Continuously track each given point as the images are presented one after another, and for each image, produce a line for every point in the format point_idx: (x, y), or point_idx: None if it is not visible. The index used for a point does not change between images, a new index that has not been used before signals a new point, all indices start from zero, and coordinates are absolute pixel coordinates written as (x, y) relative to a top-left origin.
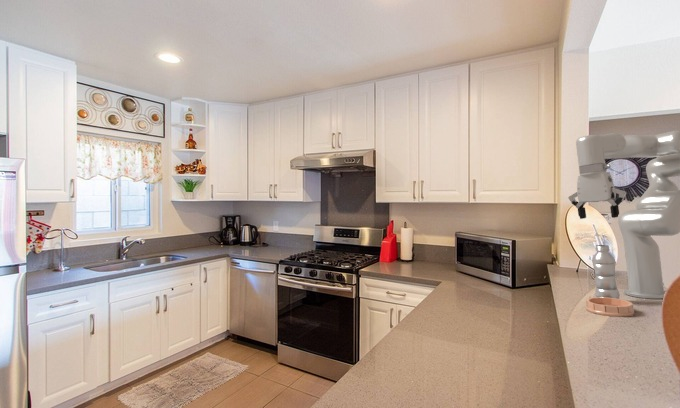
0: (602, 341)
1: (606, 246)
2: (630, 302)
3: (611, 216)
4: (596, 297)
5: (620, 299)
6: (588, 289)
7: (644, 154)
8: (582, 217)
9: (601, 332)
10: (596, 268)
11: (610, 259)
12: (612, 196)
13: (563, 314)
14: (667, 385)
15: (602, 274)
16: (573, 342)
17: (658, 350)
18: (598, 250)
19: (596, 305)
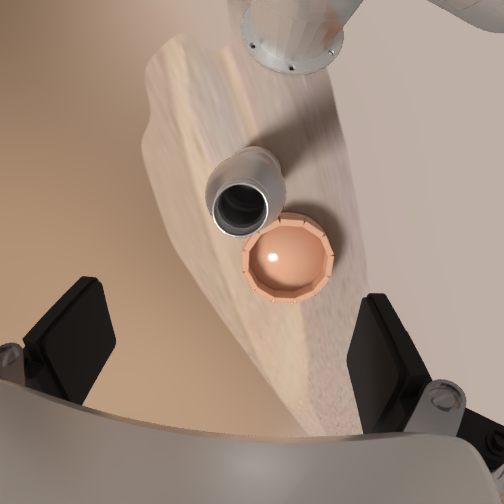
0: (324, 396)
1: (265, 222)
2: (325, 239)
3: (347, 366)
4: (252, 239)
5: (300, 223)
6: (158, 61)
7: None
8: (111, 342)
9: (315, 372)
10: (233, 217)
11: (278, 214)
12: (448, 476)
13: (234, 331)
14: None
15: (252, 212)
16: (300, 414)
17: None
18: (235, 230)
19: (278, 301)
